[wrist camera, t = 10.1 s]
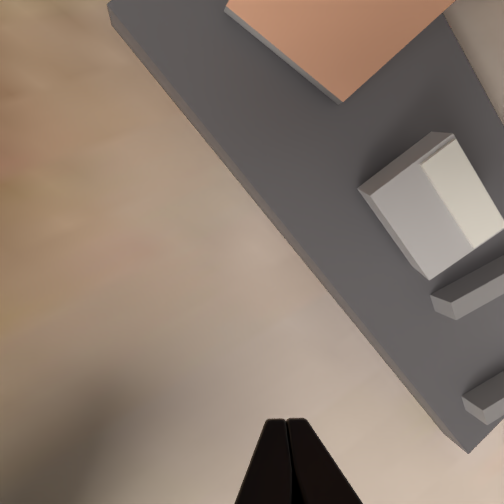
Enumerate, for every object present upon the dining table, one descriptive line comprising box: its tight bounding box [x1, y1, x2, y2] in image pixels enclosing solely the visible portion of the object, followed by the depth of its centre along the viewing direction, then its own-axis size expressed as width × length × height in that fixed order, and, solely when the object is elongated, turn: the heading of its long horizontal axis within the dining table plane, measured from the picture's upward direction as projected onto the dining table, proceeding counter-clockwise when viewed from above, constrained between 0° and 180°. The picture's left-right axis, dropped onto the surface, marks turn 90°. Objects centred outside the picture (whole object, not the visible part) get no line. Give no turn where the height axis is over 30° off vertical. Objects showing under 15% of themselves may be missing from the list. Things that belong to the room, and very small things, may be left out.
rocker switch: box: [357, 132, 504, 280], centre depth 17 cm, size 4×5×2 cm
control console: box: [107, 0, 504, 454], centre depth 20 cm, size 12×29×4 cm, turn 40°
